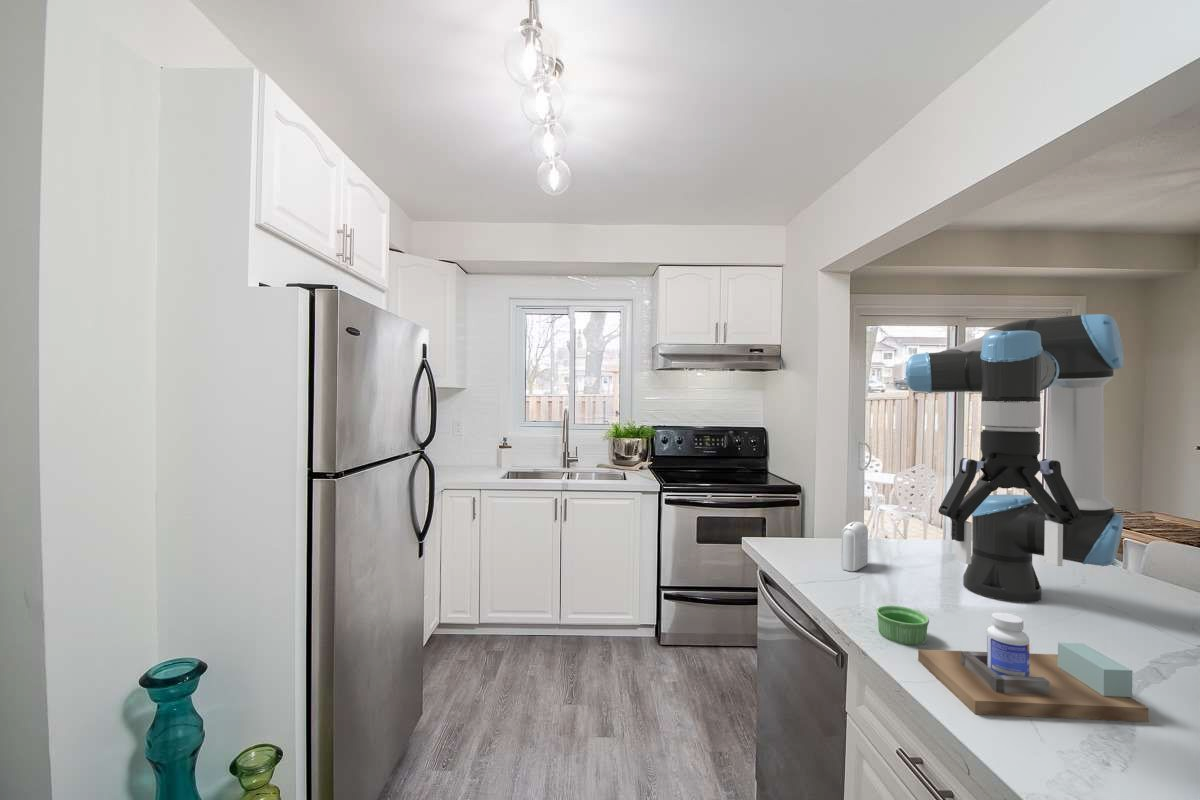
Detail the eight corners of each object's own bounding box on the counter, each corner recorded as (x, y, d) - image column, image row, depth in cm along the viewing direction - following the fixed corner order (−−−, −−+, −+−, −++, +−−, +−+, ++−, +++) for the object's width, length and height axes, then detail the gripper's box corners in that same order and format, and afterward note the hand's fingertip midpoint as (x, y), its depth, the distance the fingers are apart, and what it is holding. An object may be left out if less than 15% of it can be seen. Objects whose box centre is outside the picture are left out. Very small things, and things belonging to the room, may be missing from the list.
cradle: (1060, 666, 94) (1061, 643, 94) (1148, 721, 78) (1148, 694, 78) (918, 660, 95) (918, 638, 95) (975, 714, 79) (975, 687, 79)
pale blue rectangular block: (1083, 667, 89) (1083, 643, 89) (1132, 697, 80) (1132, 670, 80) (1057, 666, 89) (1057, 642, 89) (1103, 695, 80) (1104, 669, 80)
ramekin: (907, 650, 99) (907, 627, 99) (865, 631, 107) (866, 609, 107) (939, 642, 103) (939, 619, 103) (897, 623, 111) (897, 602, 111)
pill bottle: (1037, 689, 82) (1037, 625, 82) (997, 685, 83) (998, 622, 83) (1017, 671, 88) (1017, 611, 88) (980, 667, 89) (980, 609, 89)
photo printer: (853, 561, 152) (854, 518, 152) (869, 564, 149) (870, 520, 149) (839, 569, 145) (839, 523, 145) (855, 573, 142) (855, 526, 142)
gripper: (1073, 428, 88) (1071, 557, 88) (915, 427, 90) (914, 553, 90) (1114, 431, 81) (1112, 572, 81) (941, 430, 82) (939, 568, 83)
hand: (1008, 562), depth 85 cm, fingers open, 13 cm apart
